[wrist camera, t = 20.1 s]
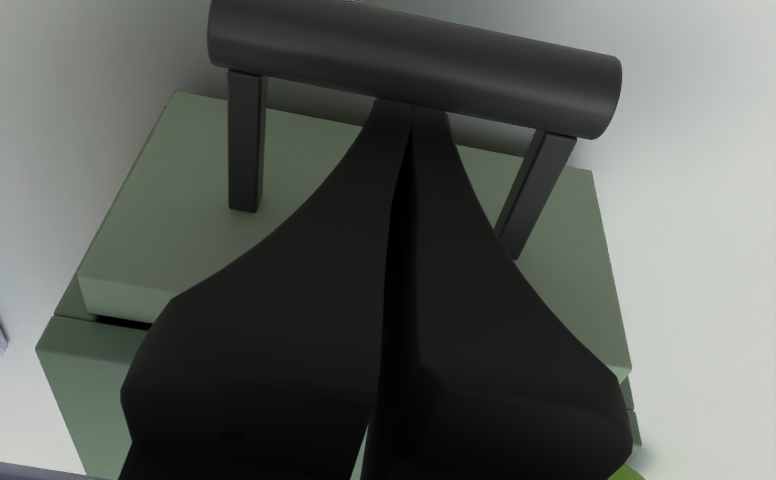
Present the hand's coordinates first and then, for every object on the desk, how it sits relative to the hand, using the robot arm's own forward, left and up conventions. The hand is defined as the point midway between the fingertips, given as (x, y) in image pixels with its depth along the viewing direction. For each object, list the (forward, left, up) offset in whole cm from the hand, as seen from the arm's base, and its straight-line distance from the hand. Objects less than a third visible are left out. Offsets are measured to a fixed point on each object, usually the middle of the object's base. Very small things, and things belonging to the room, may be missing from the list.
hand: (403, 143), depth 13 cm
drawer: (0, -6, -3) cm, 6 cm away
